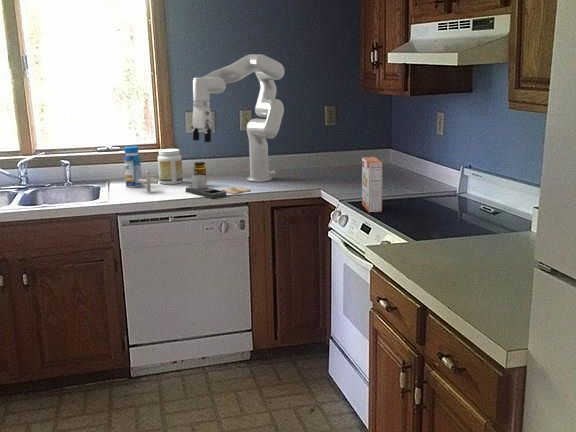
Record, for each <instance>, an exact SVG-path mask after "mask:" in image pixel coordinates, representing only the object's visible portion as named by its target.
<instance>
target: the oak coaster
mask: <svg viewBox="0 0 576 432" xmlns="http://www.w3.org/2000/svg"><path fill="white" fill-rule="evenodd" d="M220 190H221V191H225V192H226V194H231V195H235V194H236V195H237V194H242V193H247V192H252V191H251V190H252V189H249V188H244V187H239V186H236V187H231V188H225V189H220Z"/></svg>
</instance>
